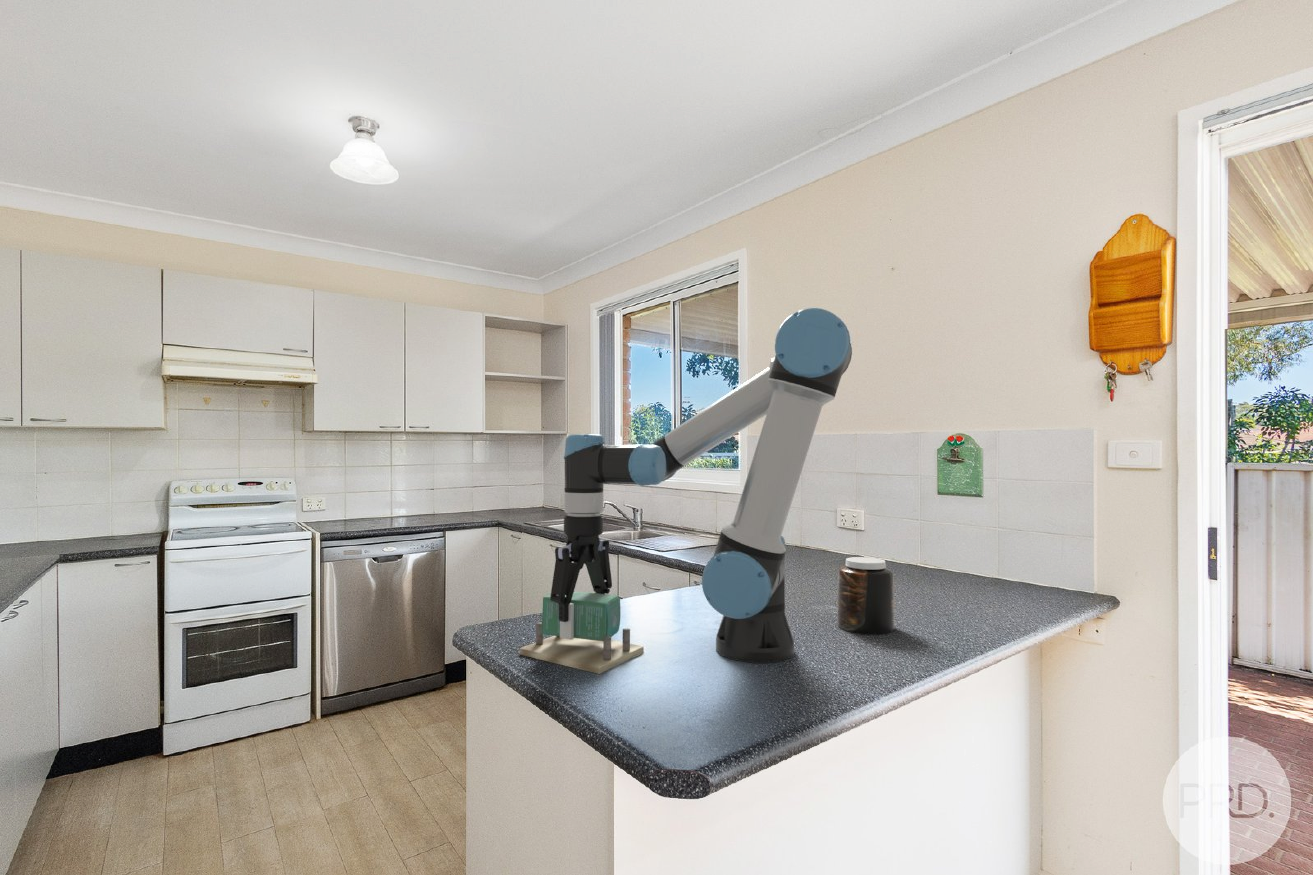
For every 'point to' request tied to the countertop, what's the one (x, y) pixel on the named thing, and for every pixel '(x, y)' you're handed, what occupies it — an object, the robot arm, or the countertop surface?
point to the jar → (866, 596)
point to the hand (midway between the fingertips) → (582, 632)
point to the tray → (582, 651)
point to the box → (585, 615)
